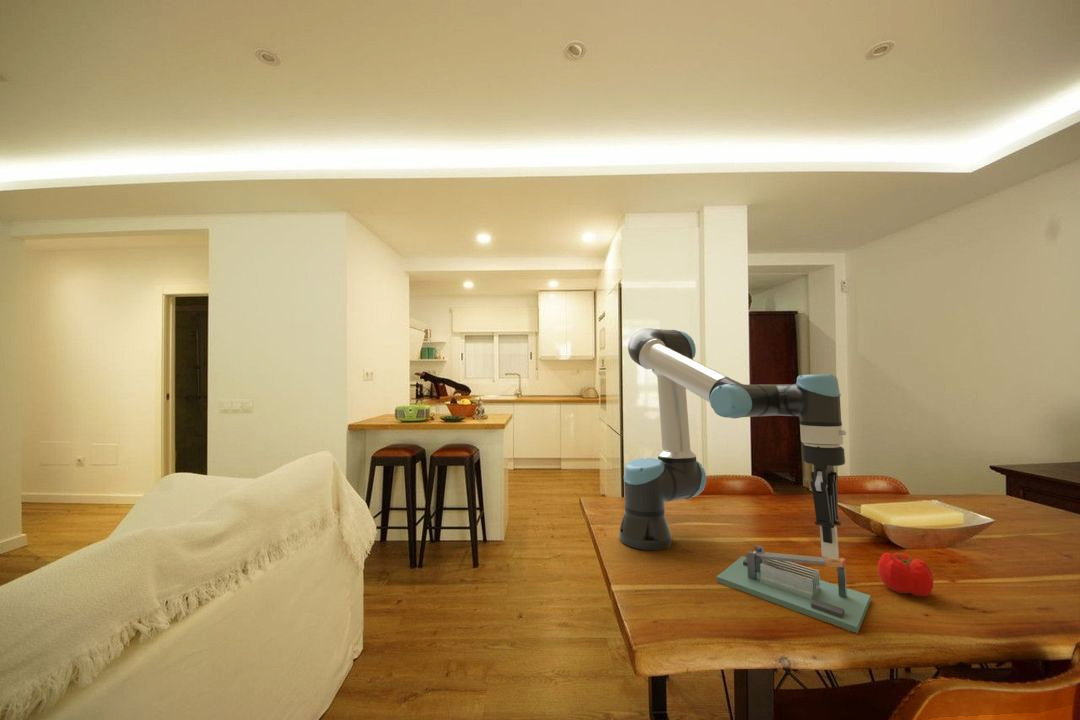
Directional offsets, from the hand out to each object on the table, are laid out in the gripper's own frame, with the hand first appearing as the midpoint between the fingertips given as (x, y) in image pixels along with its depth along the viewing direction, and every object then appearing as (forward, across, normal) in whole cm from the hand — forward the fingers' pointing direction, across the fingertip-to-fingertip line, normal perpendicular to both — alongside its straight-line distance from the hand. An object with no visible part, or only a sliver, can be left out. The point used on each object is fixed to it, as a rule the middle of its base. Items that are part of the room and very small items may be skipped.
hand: (830, 556), depth 82 cm
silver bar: (+9, 0, +7) cm, 11 cm away
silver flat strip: (+3, 0, +6) cm, 7 cm away
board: (+10, 0, +8) cm, 13 cm away
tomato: (+10, +19, -10) cm, 24 cm away
